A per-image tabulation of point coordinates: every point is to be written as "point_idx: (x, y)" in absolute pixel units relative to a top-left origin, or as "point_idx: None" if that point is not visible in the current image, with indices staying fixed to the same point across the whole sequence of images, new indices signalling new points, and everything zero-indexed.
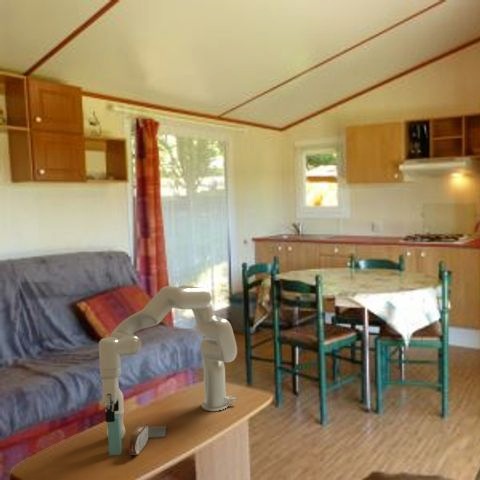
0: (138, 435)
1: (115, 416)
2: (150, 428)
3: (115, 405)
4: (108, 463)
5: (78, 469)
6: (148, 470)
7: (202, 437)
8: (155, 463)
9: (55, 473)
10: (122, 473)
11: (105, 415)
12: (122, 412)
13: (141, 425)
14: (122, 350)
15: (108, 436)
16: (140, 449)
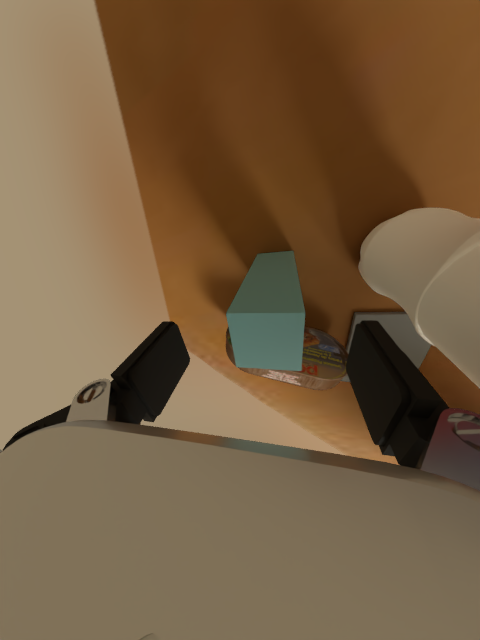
0: (243, 370)
1: (266, 353)
2: (413, 352)
3: (363, 393)
4: (212, 262)
5: (167, 165)
6: (192, 350)
7: (315, 426)
8: (218, 360)
9: (120, 50)
10: (173, 306)
11: (135, 349)
12: (432, 343)
13: (312, 380)
14: None
15: (246, 275)
16: None
